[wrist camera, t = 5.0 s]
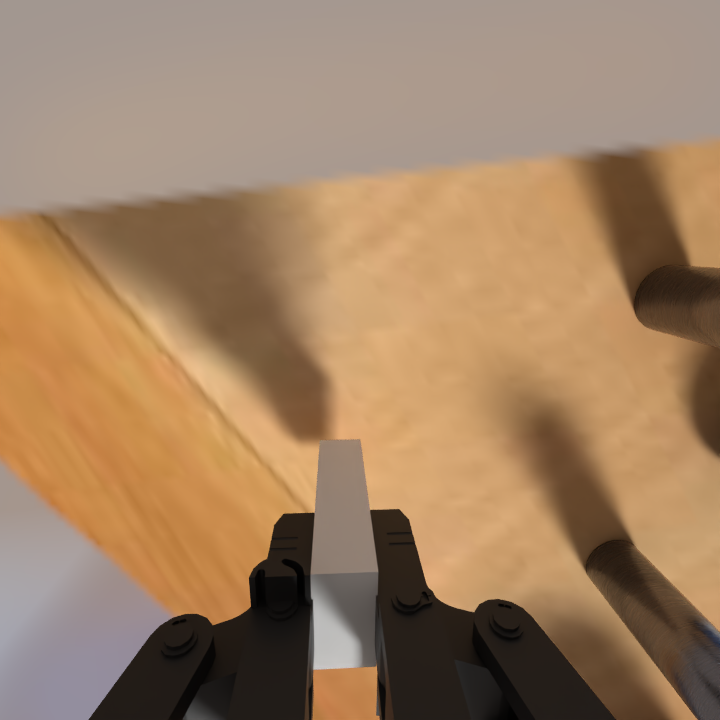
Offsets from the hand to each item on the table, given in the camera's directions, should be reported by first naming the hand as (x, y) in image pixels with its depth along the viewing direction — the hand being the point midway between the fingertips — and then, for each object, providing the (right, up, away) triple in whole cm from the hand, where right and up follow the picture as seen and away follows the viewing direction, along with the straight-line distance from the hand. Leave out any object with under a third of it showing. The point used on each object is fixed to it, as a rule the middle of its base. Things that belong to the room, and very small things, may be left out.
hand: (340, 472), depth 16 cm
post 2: (+13, -5, +4) cm, 15 cm away
